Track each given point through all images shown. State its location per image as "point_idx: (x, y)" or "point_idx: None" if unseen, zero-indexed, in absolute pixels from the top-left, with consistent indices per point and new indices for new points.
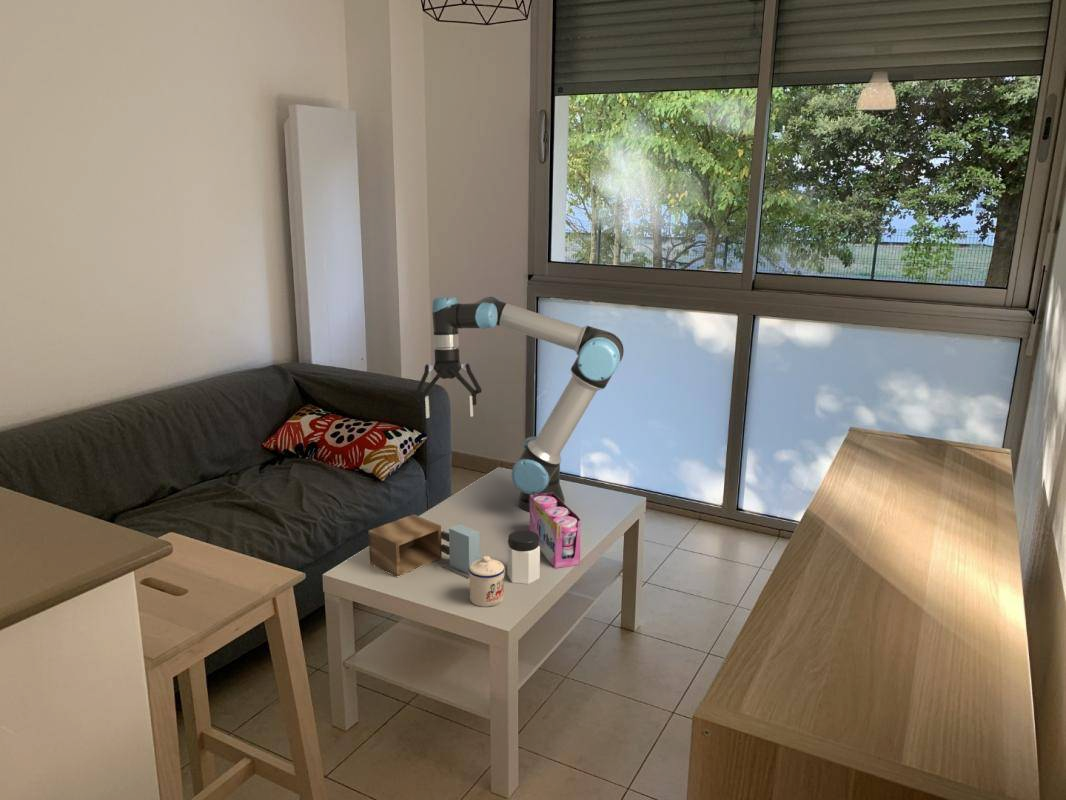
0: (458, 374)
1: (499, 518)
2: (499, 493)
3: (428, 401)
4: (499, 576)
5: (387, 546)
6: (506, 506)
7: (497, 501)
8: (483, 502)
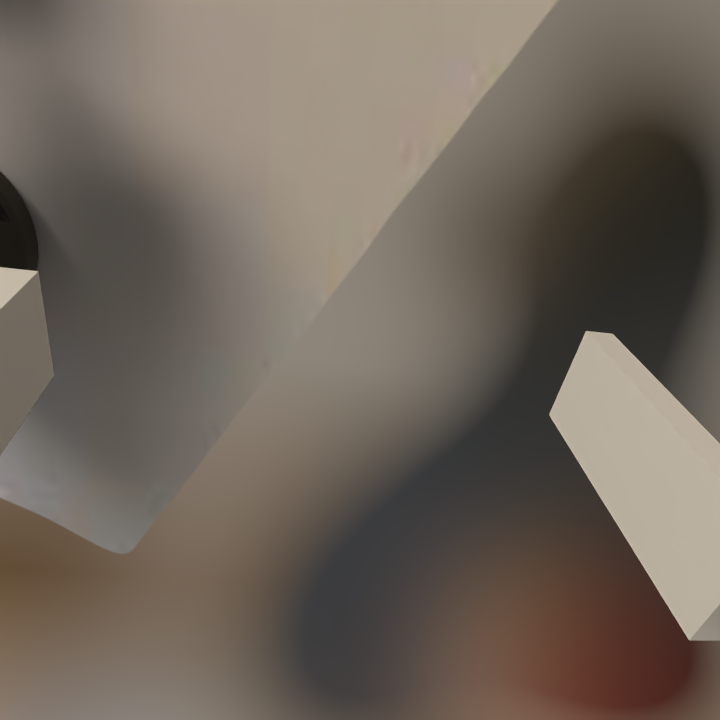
0: None
1: (114, 105)
2: (127, 366)
3: (660, 533)
4: None
5: None
6: (91, 235)
7: (132, 291)
8: (188, 289)
